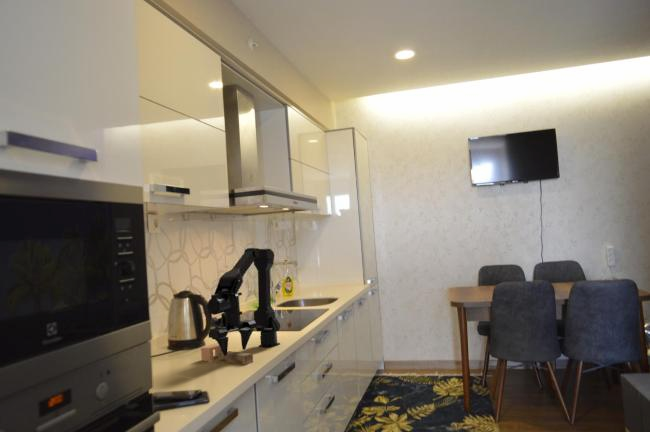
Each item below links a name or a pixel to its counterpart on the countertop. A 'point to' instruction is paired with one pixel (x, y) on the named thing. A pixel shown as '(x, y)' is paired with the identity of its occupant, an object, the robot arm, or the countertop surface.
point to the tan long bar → (237, 357)
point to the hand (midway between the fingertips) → (234, 352)
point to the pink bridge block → (210, 352)
